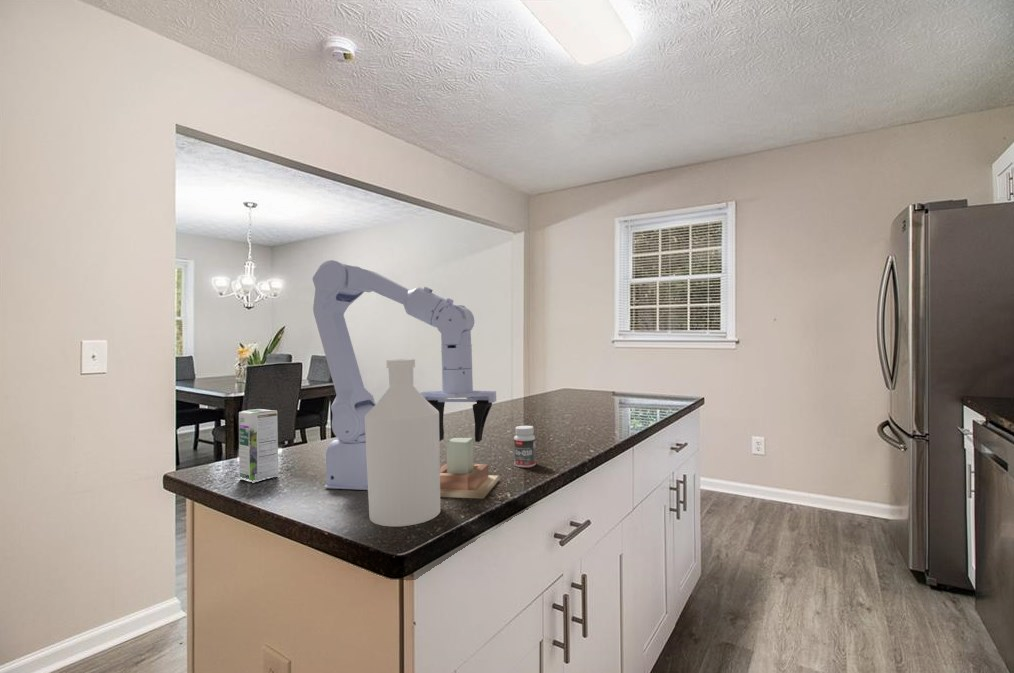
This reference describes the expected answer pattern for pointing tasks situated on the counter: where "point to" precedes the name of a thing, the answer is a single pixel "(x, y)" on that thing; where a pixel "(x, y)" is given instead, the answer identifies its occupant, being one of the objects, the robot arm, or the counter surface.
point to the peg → (460, 455)
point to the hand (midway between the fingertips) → (459, 440)
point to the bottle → (402, 452)
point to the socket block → (467, 483)
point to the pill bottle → (524, 447)
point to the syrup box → (258, 444)
